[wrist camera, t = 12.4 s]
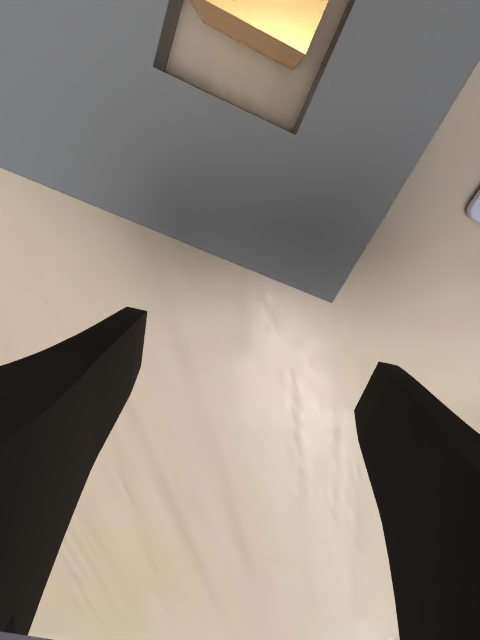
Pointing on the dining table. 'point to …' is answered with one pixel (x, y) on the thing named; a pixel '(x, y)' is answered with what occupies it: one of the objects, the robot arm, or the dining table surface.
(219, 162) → the notched board
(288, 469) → the dining table surface
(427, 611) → the robot arm
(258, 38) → the block
